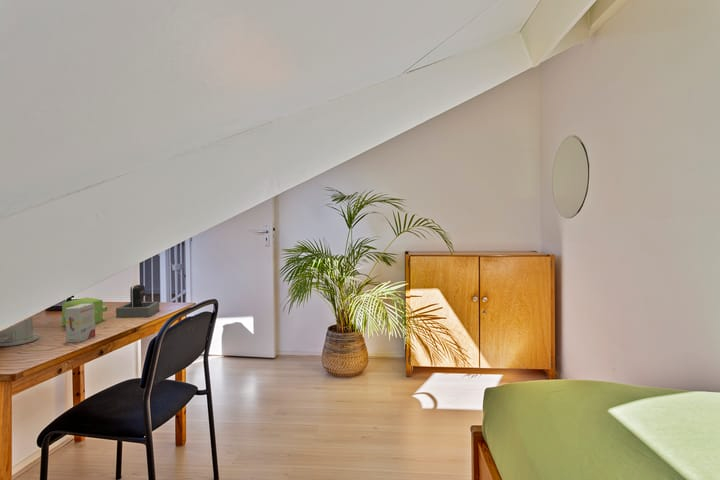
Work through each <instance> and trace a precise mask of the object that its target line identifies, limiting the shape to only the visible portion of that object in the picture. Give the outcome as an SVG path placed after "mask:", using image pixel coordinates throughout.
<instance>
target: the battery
mask: <svg viewBox="0 0 720 480" xmlns="http://www.w3.org/2000/svg"><path fill="white" fill-rule="evenodd" d="M145 287H146V286H145V285H143V284H136V285H132V286H131V287H130V291H129V292H130V295H129V296H130V298H129V299H130V302H131V307H143V306H142V303H141V302H142V299H143V297H145V296H146V288H145Z"/></svg>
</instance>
